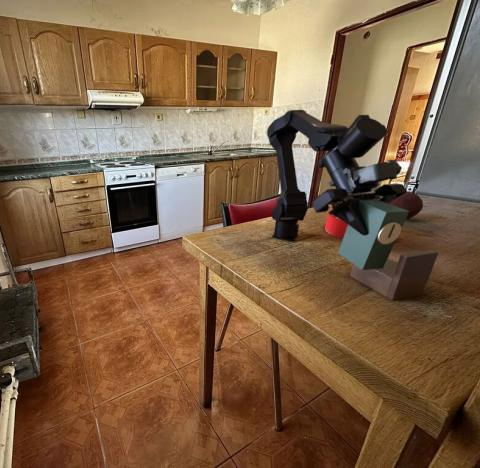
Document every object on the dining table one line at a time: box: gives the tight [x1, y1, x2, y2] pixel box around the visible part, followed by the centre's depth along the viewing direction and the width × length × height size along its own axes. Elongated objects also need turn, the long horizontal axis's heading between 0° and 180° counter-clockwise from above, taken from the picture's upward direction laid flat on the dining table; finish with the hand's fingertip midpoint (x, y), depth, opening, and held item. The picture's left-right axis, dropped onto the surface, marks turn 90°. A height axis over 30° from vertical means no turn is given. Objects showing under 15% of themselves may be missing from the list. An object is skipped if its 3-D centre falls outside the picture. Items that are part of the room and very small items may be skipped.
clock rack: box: [349, 249, 439, 301], centre depth 57 cm, size 10×8×10 cm
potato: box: [390, 191, 424, 220], centre depth 98 cm, size 11×13×10 cm
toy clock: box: [324, 210, 348, 240], centre depth 87 cm, size 20×6×20 cm
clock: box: [337, 200, 409, 270], centre depth 54 cm, size 8×5×13 cm, turn 8°
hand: (376, 233), depth 53 cm, fingers closed on clock, 5 cm apart
